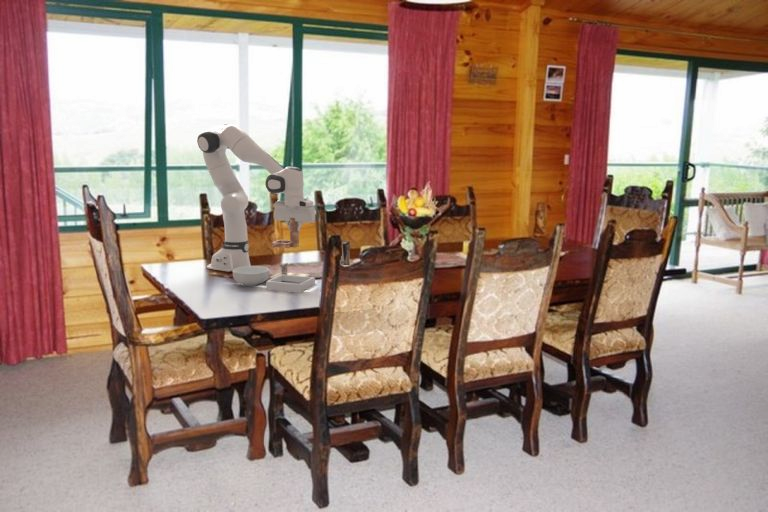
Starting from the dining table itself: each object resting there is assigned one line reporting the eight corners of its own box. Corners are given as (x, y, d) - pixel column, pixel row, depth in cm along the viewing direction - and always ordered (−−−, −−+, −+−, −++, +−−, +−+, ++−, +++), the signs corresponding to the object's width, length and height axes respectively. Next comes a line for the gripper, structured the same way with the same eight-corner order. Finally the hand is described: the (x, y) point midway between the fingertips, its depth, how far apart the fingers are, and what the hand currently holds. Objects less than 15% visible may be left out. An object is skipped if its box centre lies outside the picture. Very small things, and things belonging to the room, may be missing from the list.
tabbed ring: (270, 246, 331) (270, 217, 328) (279, 243, 339) (279, 215, 337) (292, 248, 327) (292, 218, 325) (301, 245, 336) (300, 216, 333)
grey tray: (266, 289, 314) (266, 281, 313) (281, 282, 328) (281, 274, 327) (300, 292, 309) (300, 284, 308) (315, 285, 322) (315, 277, 322)
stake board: (268, 279, 333) (268, 265, 332) (281, 273, 346) (281, 260, 344) (299, 282, 328) (299, 268, 327) (311, 276, 340) (310, 262, 339)
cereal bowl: (229, 281, 328) (229, 267, 327) (264, 278, 335) (264, 264, 333) (237, 290, 313) (236, 274, 312) (273, 286, 319) (273, 271, 318)
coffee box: (345, 276, 340) (345, 244, 337) (332, 276, 342) (332, 243, 338) (350, 272, 349) (350, 241, 346) (337, 272, 350) (337, 240, 347)
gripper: (271, 201, 328) (271, 230, 331) (310, 203, 322) (311, 233, 324) (277, 199, 334) (277, 228, 337) (316, 202, 327) (316, 231, 330)
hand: (294, 230), depth 330 cm, fingers closed on tabbed ring, 2 cm apart
